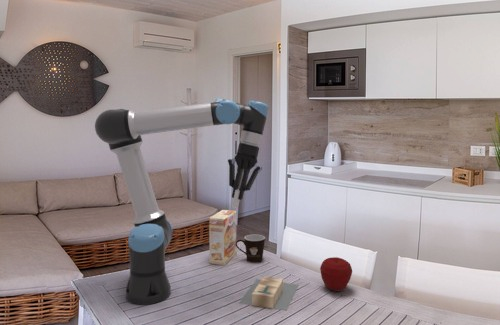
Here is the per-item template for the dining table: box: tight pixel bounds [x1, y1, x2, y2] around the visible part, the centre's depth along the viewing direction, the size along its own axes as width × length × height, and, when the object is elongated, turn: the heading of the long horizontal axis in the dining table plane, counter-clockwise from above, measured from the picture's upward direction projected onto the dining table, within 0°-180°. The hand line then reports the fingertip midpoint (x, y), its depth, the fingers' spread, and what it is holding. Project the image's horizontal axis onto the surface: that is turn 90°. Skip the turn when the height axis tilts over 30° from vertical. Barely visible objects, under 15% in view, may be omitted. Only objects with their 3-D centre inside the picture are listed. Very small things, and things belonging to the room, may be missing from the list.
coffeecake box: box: [208, 209, 237, 266], centre depth 174 cm, size 15×7×20 cm, turn 162°
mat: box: [238, 278, 300, 311], centre depth 141 cm, size 16×20×1 cm
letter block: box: [251, 276, 284, 310], centre depth 138 cm, size 7×4×14 cm
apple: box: [319, 256, 353, 292], centre depth 145 cm, size 11×11×12 cm
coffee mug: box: [236, 234, 266, 264], centre depth 173 cm, size 12×9×10 cm
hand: (234, 207), depth 149 cm, fingers closed
